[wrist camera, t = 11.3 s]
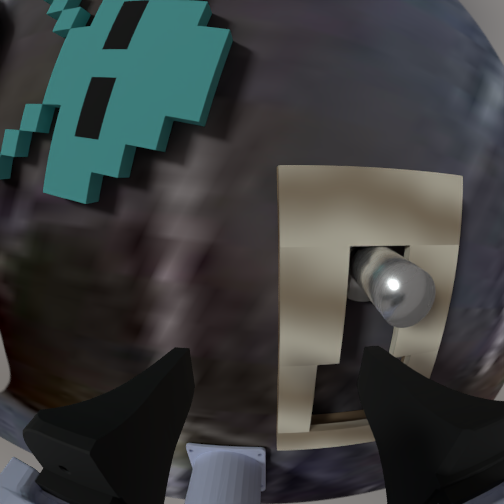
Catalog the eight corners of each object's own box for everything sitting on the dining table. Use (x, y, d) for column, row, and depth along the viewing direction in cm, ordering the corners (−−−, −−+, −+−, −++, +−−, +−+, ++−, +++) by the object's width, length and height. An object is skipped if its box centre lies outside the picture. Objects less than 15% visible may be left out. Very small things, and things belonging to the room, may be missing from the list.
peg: (394, 292, 20) (443, 342, 13) (323, 297, 20) (348, 356, 13) (401, 217, 19) (462, 239, 11) (324, 217, 19) (358, 241, 12)
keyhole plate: (397, 413, 23) (407, 434, 20) (276, 426, 24) (276, 450, 21) (439, 174, 18) (462, 176, 15) (276, 167, 18) (278, 165, 15)
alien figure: (1, 175, 20) (182, 222, 20) (-15, 176, 17) (172, 227, 18) (63, -10, 15) (258, -19, 15) (52, -18, 12) (257, -35, 13)
